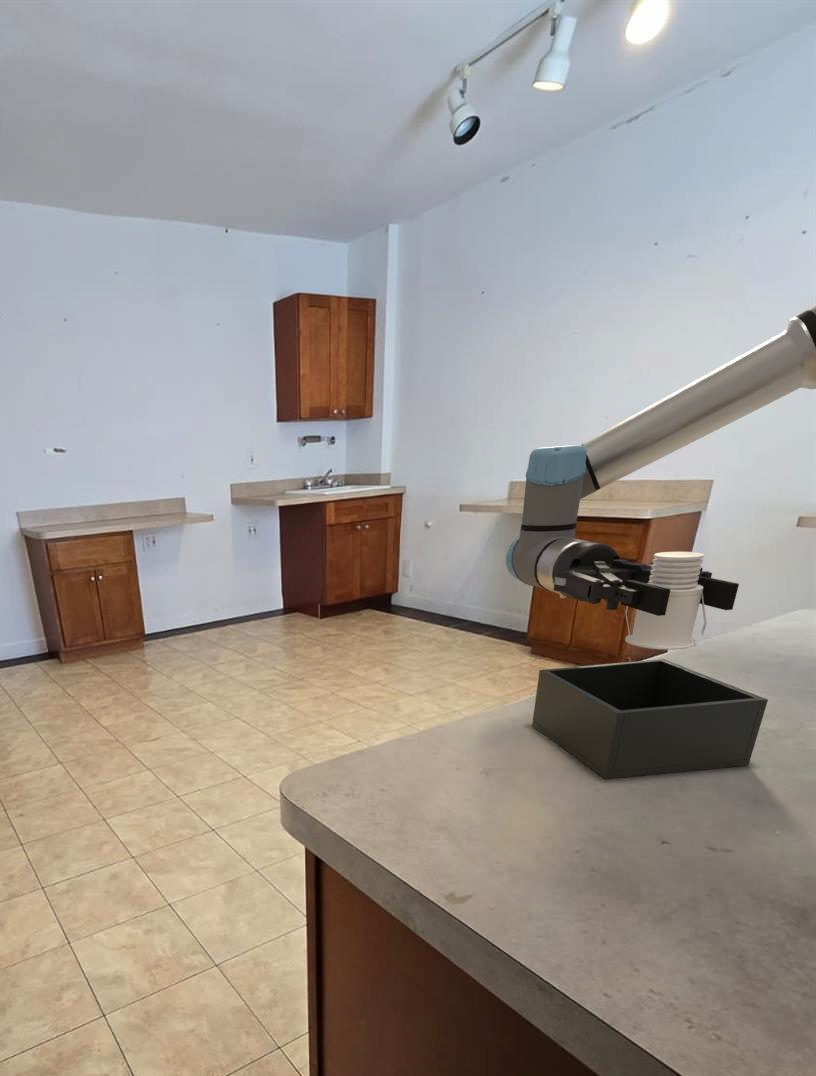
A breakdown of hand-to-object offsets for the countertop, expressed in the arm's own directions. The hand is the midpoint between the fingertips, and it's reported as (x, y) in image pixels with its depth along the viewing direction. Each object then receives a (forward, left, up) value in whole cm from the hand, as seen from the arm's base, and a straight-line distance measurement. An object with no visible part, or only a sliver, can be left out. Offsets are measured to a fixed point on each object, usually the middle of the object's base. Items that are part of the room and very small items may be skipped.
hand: (698, 599), depth 67 cm
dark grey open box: (+3, -3, -18) cm, 19 cm away
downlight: (+2, -5, -6) cm, 8 cm away
